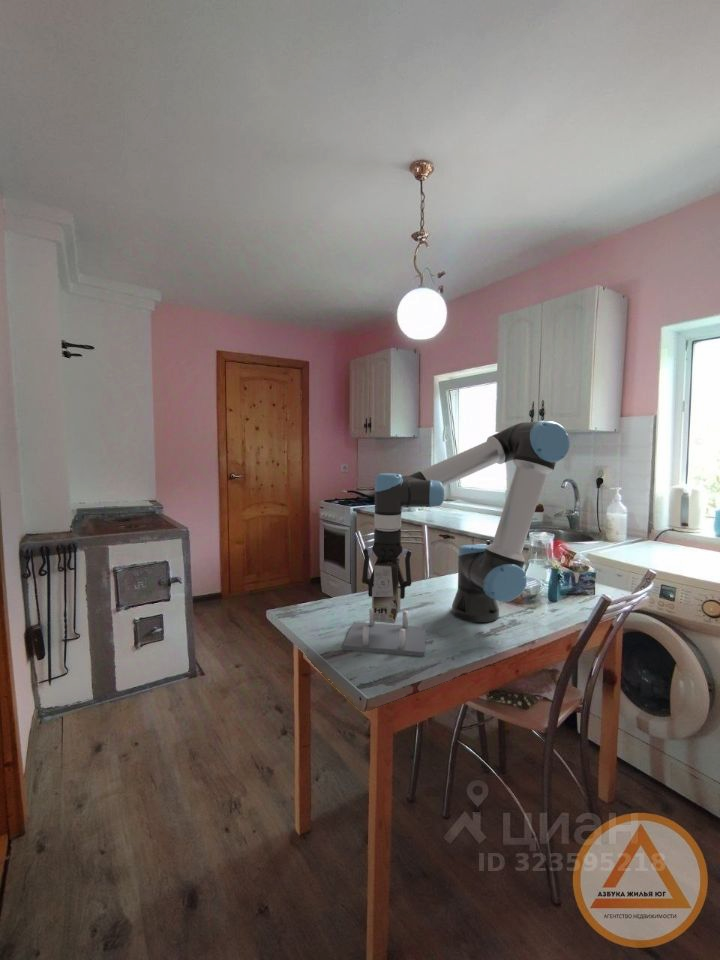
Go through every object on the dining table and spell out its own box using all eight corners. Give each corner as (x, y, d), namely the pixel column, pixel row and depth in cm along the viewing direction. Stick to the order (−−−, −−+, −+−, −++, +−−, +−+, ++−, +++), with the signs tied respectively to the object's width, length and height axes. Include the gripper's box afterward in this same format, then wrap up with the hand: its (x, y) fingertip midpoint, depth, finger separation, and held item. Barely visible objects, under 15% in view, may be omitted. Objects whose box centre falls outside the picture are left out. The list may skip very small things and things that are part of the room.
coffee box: (395, 624, 121) (396, 566, 120) (372, 622, 122) (373, 564, 121) (399, 611, 130) (400, 557, 129) (377, 609, 131) (378, 556, 130)
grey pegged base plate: (425, 631, 133) (425, 611, 132) (424, 656, 117) (424, 633, 117) (353, 625, 136) (353, 606, 136) (343, 649, 121) (343, 627, 120)
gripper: (422, 527, 126) (421, 605, 128) (355, 524, 129) (355, 601, 131) (422, 532, 119) (420, 615, 121) (351, 529, 122) (350, 610, 124)
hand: (386, 608), depth 126 cm, fingers closed on coffee box, 6 cm apart
